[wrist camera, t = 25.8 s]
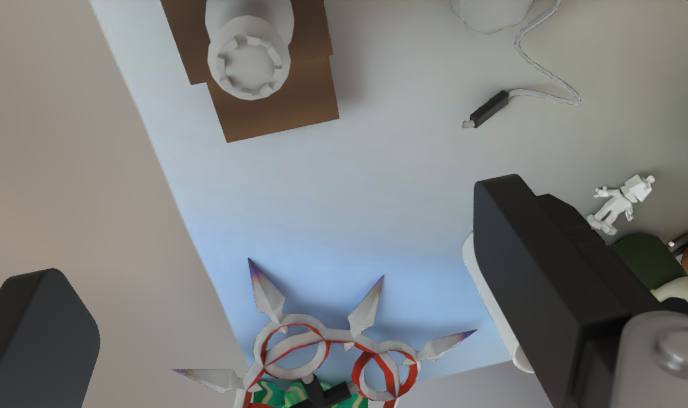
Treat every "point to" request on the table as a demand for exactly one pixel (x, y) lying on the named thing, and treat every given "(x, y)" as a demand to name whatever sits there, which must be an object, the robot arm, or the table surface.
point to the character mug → (656, 269)
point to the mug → (494, 307)
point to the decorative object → (321, 353)
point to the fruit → (685, 260)
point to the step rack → (294, 95)
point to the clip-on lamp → (507, 10)
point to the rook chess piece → (249, 45)
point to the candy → (299, 396)
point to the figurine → (621, 203)
